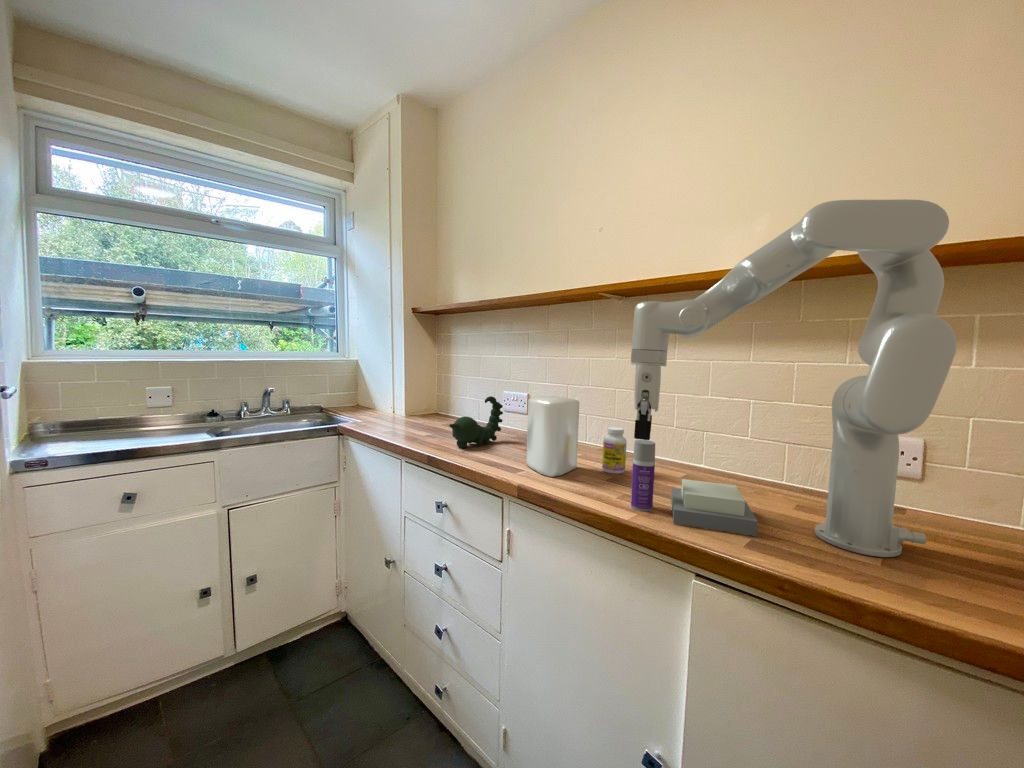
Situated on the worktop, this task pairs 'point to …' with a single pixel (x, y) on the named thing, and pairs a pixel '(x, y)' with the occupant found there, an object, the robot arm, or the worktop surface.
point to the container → (643, 475)
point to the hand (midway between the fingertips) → (642, 435)
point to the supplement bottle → (614, 451)
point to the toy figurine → (477, 427)
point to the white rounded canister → (552, 435)
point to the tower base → (712, 518)
